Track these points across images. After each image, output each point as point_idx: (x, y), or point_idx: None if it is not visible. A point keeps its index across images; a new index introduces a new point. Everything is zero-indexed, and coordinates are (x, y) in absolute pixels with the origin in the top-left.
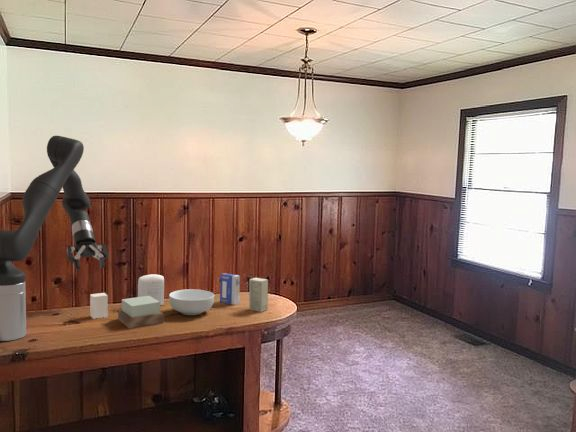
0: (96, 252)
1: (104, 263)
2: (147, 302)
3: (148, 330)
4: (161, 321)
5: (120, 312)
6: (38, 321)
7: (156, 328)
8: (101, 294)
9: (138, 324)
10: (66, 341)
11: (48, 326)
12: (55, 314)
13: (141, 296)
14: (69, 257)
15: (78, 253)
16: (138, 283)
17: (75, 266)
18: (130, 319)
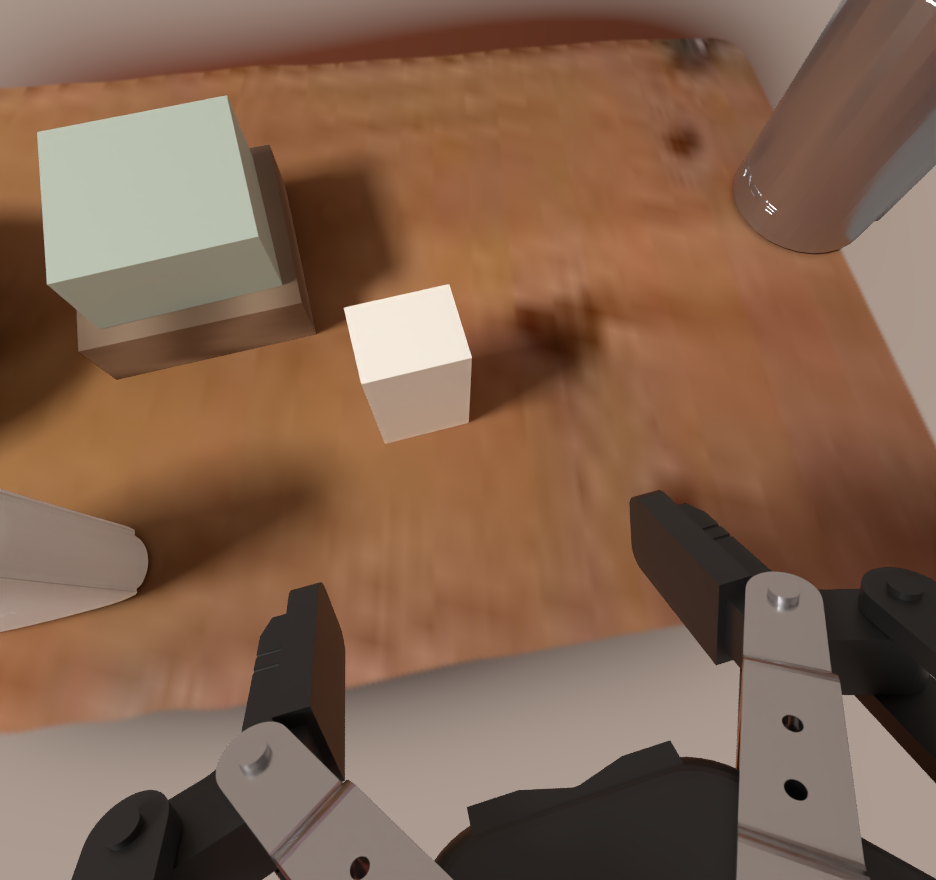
0: (362, 795)
1: (265, 640)
2: (116, 139)
3: None
4: None
5: (295, 267)
6: (740, 386)
7: None
8: (387, 337)
9: None
10: (548, 103)
11: (665, 294)
12: None
13: (78, 513)
14: (911, 577)
15: (798, 664)
16: (11, 524)
17: (701, 514)
18: (263, 151)
